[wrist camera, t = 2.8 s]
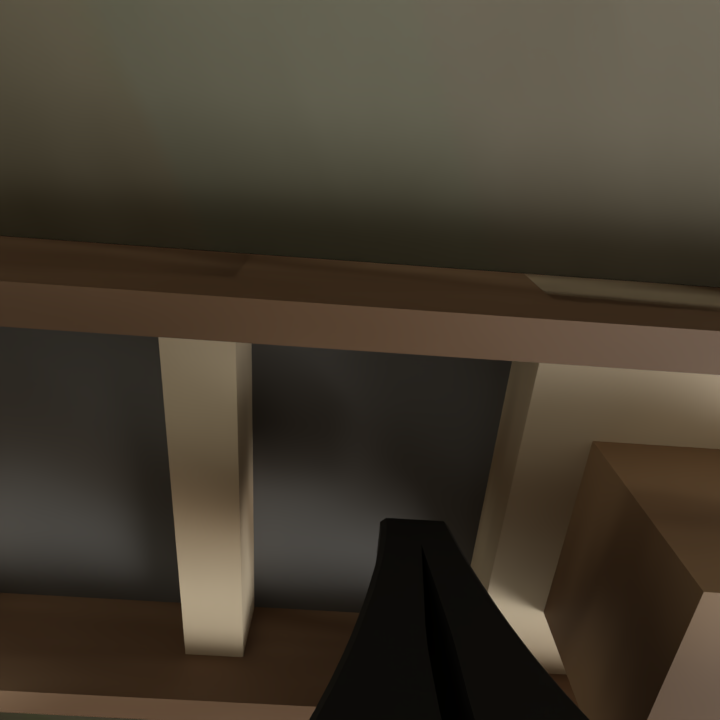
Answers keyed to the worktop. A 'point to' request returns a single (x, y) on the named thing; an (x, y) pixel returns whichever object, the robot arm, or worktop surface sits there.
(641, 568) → the walnut block
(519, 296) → the brown wooden open box
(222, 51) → the worktop surface
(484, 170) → the worktop surface
